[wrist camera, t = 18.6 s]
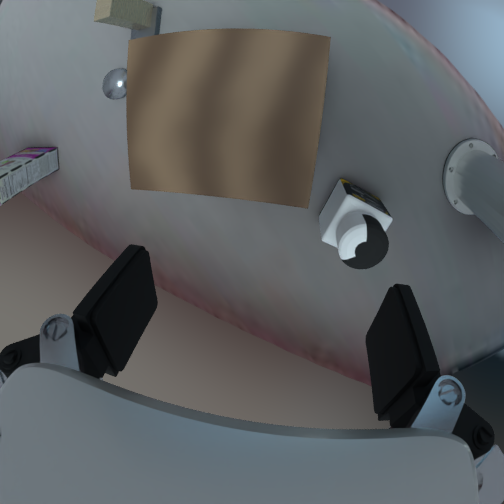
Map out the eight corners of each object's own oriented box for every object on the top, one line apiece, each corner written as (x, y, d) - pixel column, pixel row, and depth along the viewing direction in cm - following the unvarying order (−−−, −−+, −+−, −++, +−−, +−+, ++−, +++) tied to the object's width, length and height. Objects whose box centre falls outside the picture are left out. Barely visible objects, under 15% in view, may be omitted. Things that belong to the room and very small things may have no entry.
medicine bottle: (380, 198, 37) (406, 239, 27) (357, 236, 41) (372, 284, 31) (339, 176, 37) (355, 211, 27) (317, 217, 41) (322, 263, 31)
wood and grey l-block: (162, 5, 25) (119, -13, 16) (155, 101, 34) (109, 109, 25) (139, 10, 26) (93, -4, 16) (133, 102, 35) (84, 112, 25)
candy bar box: (30, 168, 43) (-25, 201, 29) (27, 147, 40) (-30, 176, 27) (60, 170, 42) (-1, 207, 29) (58, 146, 40) (-6, 178, 26)
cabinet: (316, 54, 28) (331, 26, 14) (304, 162, 36) (308, 208, 23) (193, 48, 29) (129, 30, 16) (189, 150, 38) (131, 189, 24)
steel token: (119, 63, 31) (113, 63, 30) (139, 78, 33) (134, 79, 31) (103, 88, 33) (97, 89, 32) (122, 104, 35) (117, 105, 34)
